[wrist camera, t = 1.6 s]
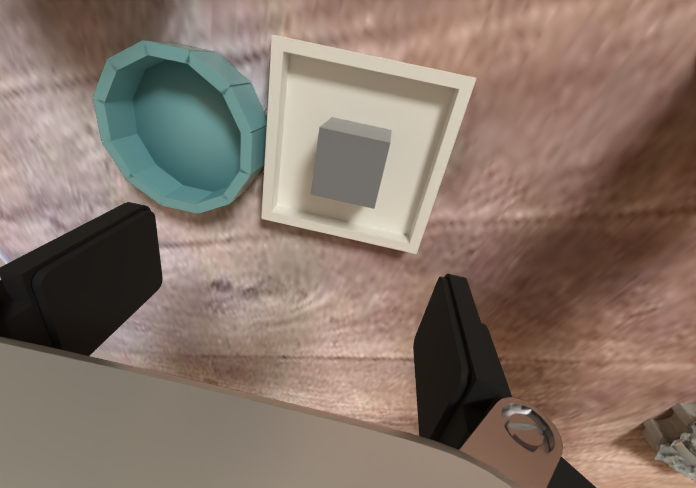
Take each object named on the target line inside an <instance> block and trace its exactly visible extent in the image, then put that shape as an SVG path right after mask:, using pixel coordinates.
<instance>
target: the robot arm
mask: <svg viewBox="0 0 696 488" xmlns="http://www.w3.org/2000/svg"><path fill="white" fill-rule="evenodd" d="M0 277H1V280H0V488H596V487H595V486H594V485H593V484H592V483H590V482H589V481H588V480H587V479H586V478H585V477H584V476H583V475H581V474H580V473H579V472H578V471H577V470H576V469H575V468H574V467H572V466H571V465H570V464H569V463H568V462H567V461H566V460H565V459H563V458H562V457H561V455H562V450H563V444H562V440H561V436H560V434H559V432H558V431H557V429H556V427H555V425H554V424H553V423H552V422H551V420H550V419H549V418H548V417H547V416H546V415H545V414H544V413H543V412H542V411H540V410H539V409H538V408H536V407H535V406H533V405H532V404H530V403H528V402H526V401H524V400H521V399H518V398H512V395H511V392H510V390H509V387H508V384H507V381H506V378H505V375H504V373H503V370H502V367H501V364H500V361H499V359H498V356H497V353H496V350H495V347H494V344H493V342H492V339H491V336H490V333H489V330H488V328H487V326H486V325H485V324H483V323H481V321H480V318H479V315H478V312H477V309H476V306H475V303H474V300H473V297H472V294H471V291H470V288H469V285H468V282H467V279H466V278H464V277H460V276H456V275H451V274H446V276H445V277H439V279H438V281H437V283H436V286H435V288H434V291H433V293H432V296H431V298H430V301H429V303H428V306H427V308H426V311H425V313H424V316H423V318H422V321H421V323H420V326H419V328H418V331H417V333H416V336H415V339H414V346H413V349H414V364H415V379H416V394H417V408H418V423H419V436H417V435H414V434H411V433H407V432H404V431H400V430H396V429H392V428H388V427H384V426H380V425H377V424H373V423H369V422H365V421H361V420H357V419H353V418H349V417H345V416H341V415H337V414H333V413H329V412H325V411H321V410H316V409H312V408H308V407H304V406H300V405H295V404H291V403H287V402H283V401H279V400H275V399H270V398H266V397H262V396H258V395H254V394H250V393H245V392H241V391H237V390H233V389H228V388H224V387H220V386H216V385H211V384H207V383H203V382H199V381H194V380H190V379H186V378H181V377H177V376H173V375H169V374H164V373H160V372H156V371H151V370H147V369H143V368H138V367H134V366H130V365H125V364H120V363H117V362H112V361H108V360H103V359H99V358H95V357H90V355H91V354H92V353H93V352H94V351H95V350H96V349H97V348H98V347H99V346H100V345H101V344H102V343H103V342H104V341H105V340H106V339H107V338H108V337H109V336H110V335H112V334H113V333H114V332H115V331H116V330H117V329H118V328H119V327H120V326H121V325H122V324H123V323H124V322H125V321H126V320H127V319H128V318H129V317H130V316H131V315H132V314H133V313H135V312H136V311H137V310H138V309H139V308H140V307H141V306H142V305H143V304H144V303H145V302H146V301H147V300H148V299H149V298H150V297H151V296H152V295H153V294H154V293H155V292H156V291H158V289H159V288H160V287H161V284H162V270H161V261H160V253H159V244H158V236H157V228H156V219H155V214H154V213H153V212H151V210H150V208H149V207H148V206H145V205H140V204H136V203H131V202H127V203H124V204H122V205H120V206H118V207H116V208H114V209H112V210H110V211H109V212H107V213H105V214H103V215H101V216H99V217H97V218H95V219H93V220H91V221H89V222H87V223H85V224H83V225H81V226H79V227H77V228H76V229H74V230H72V231H70V232H68V233H66V234H64V235H62V236H60V237H58V238H56V239H54V240H52V241H50V242H48V243H46V244H45V245H43V246H41V247H39V248H37V249H35V250H33V251H31V252H29V253H27V254H25V255H23V256H21V257H19V258H17V259H15V260H14V261H12V262H10V263H8V264H6V265H4V266H2V267H0Z"/></svg>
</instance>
